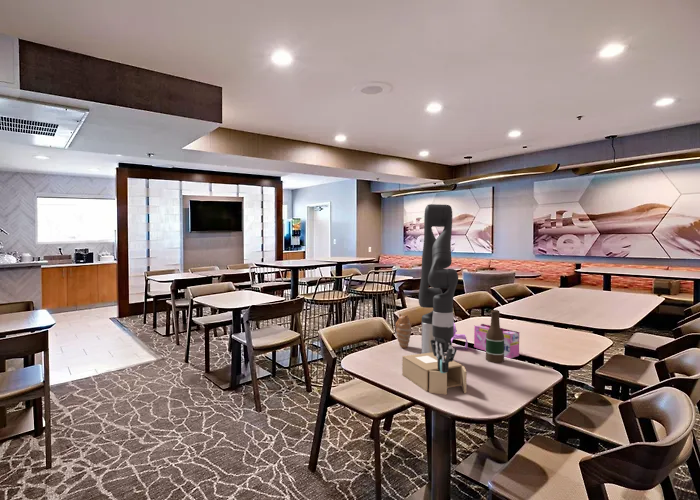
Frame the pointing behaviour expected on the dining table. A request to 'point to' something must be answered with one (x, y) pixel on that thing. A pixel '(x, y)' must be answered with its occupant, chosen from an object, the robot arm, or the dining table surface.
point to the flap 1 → (438, 381)
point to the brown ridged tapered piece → (403, 330)
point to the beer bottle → (495, 340)
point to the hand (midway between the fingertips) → (442, 370)
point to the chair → (459, 336)
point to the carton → (420, 366)
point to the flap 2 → (464, 379)
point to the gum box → (509, 340)
